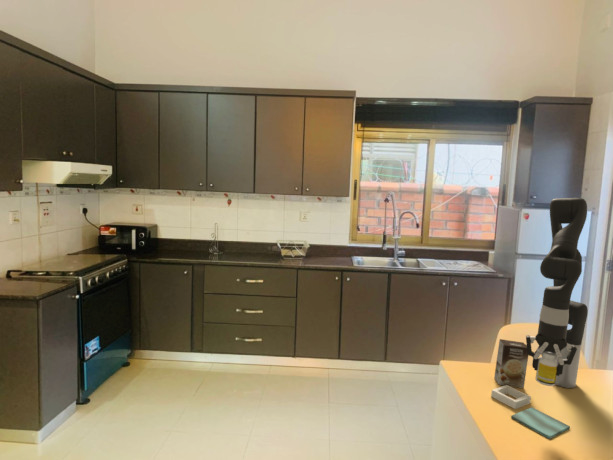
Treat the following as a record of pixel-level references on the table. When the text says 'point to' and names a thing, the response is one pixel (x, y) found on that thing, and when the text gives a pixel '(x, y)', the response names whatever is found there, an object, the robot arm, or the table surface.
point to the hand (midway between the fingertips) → (546, 371)
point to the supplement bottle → (547, 369)
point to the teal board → (540, 422)
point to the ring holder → (521, 397)
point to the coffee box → (511, 363)
